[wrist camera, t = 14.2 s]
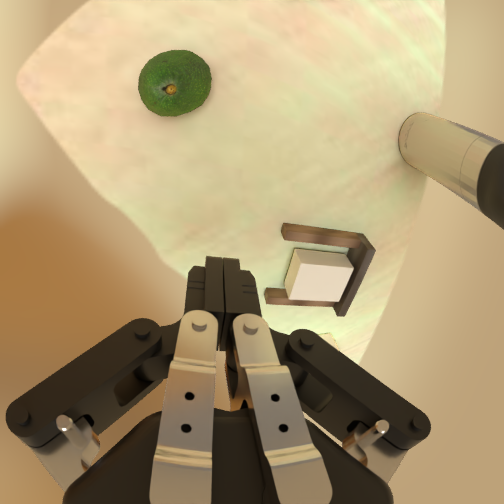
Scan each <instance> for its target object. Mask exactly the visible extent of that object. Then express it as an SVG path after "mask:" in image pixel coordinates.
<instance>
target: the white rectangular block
mask: <svg viewBox="0 0 504 504" xmlns="http://www.w3.org/2000/svg"><path fill="white" fill-rule="evenodd" d="M353 269H354V268H353V266H352V264H351V263H350V261H349V260H348V258H347V256H346V255H345V254H339V253H330V252H321V251H312V250H303V249H295V250H294V253H293V257H292V260H291V263H290V266H289V269H288V273H287V276H286V279H285V282H284V285H285V288H286V292H287V295H288V298H289V299H290V300H310V301H334V302H339V300H340V298H341V296H342V294H343V291H344V289H345V287H346V285H347V283H348V280H349V278H350V276H351V274H352V271H353Z"/></svg>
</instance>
